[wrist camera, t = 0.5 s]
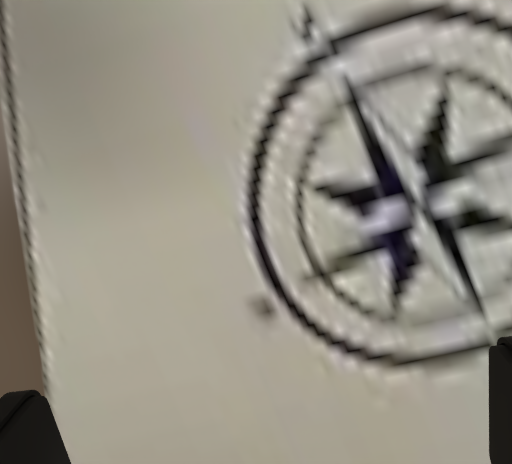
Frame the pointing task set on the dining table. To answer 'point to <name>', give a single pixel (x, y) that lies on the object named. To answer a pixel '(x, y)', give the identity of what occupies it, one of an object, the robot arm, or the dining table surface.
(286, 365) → the dining table surface
